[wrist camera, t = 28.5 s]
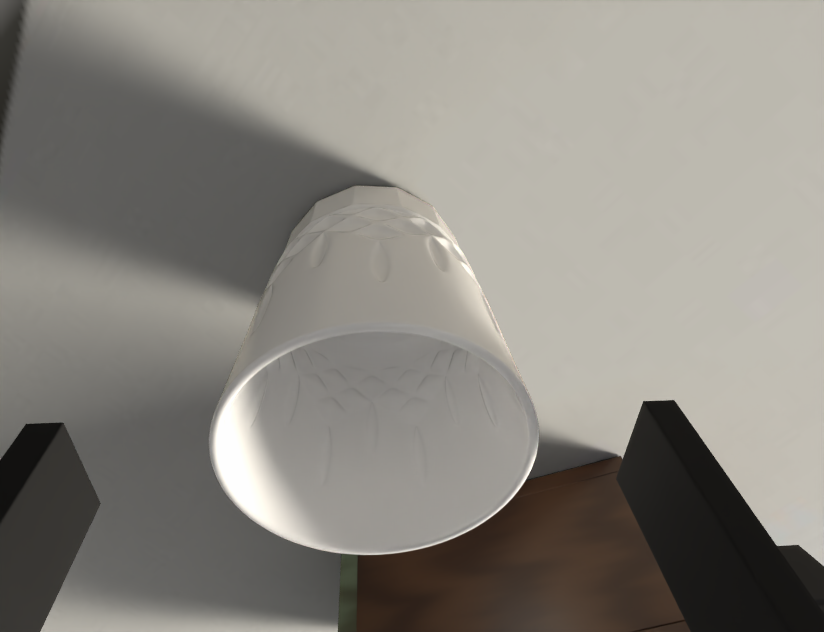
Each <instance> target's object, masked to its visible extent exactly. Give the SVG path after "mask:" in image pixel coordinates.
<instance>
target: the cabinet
mask: <svg viewBox="0 0 824 632" xmlns="http://www.w3.org/2000/svg"><path fill="white" fill-rule="evenodd" d="M621 463H622V458H621V456H619V457H615V458H611V459H607V460H603V461H600V462H596V463H592V464H588V465H584V466H580V467H577V468H573V469H569V470H565V471H561V472H557V473H554V474H550V475H546V476H542V477H538V478H534V479H531V480H527V481H525V482H524V483H523V485H522V486H521V488H520V489H519V491H518V492H517V493H516V494H515V496H514V497H513V498H512V499H511V500H510V501H509V502H508V503H507V504H506V505H505V506H504V507H503V508H502V509H501V510H500V511H498V512H497V513H496V514H495V515H493V516H492V517H491V518H489V519H488V520H487V521H485V522H484V523H482V524H480V525H479V526H477V527H475V528H474V529H472V530H470V531H468V532H466V533H464V534H462V535H460V536H458V537H455V538H453V539H450V540H448V541H445V542H442V543H439V544H436V545H433V546H430V547H426V548H422V549H418V550H413V551H408V552H401V553H394V554H382V555H358V561H357V621H356V632H690V629H689V627H688V625H687V623H686V621H685V619H684V617H683V615H682V613H681V611H680V609H679V607H678V605H677V603H676V601H675V599H674V597H673V595H672V593H671V590H670V588H669V586H668V584H667V582H666V580H665V578H664V576H663V574H662V572H661V570H660V568H659V566H658V564H657V562H656V560H655V558H654V556H653V554H652V552H651V549H650V547H649V545H648V543H647V541H646V539H645V537H644V535H643V533H642V531H641V529H640V527H639V525H638V523H637V521H636V519H635V517H634V515H633V513H632V511H631V508H630V506H629V504H628V502H627V500H626V498H625V496H624V494H623V492H622V490H621V488H620V486H619V484H618V482H617V480H616V477H617V474H618V471H619V468H620V466H621Z"/></svg>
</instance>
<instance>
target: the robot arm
mask: <svg viewBox="0 0 824 632" xmlns="http://www.w3.org/2000/svg"><path fill="white" fill-rule="evenodd" d="M616 480H617V482H618V484H619V486H620V488H621V490H622V492H623V494H624V496H625V498H626V500H627V502H628V504H629V506H630V508H631V511H632V513H633V515H634V517H635V519H636V521H637V523H638V525H639V527H640V529H641V531H642V533H643V535H644V537H645V539H646V541H647V543H648V545H649V547H650V549H651V552H652V554H653V556H654V558H655V560H656V562H657V564H658V566H659V568H660V570H661V572H662V574H663V576H664V578H665V580H666V582H667V584H668V586H669V588H670V590H671V593H672V595H673V597H674V599H675V601H676V603H677V605H678V607H679V609H680V611H681V613H682V615H683V617H684V619H685V621H686V623H687V625H688V627H689V629H690V632H824V566H823V565H821V564H820V563H819V562H818V561H817V560H815V559H814V558H813V557H812V556H811V555H810V554H808V553H807V552H806V551H805V550H804V549H802V548H801V547H800V546H799V545H791V546H776V544H775V543H774V541H773V540H772V539H771V537H770V536H769V534H768V533H767V531H766V530H765V529H764V527H763V526H762V524H761V523H760V521H759V520H758V519H757V517H756V516H755V514H754V513H753V512H752V510H751V509H750V507H749V506H748V504H747V503H746V502H745V500H744V499H743V497H742V496H741V494H740V493H739V492H738V490H737V489H736V487H735V486H734V484H733V483H732V482H731V480H730V479H729V477H728V476H727V475H726V473H725V472H724V470H723V469H722V467H721V466H720V465H719V463H718V462H717V460H716V459H715V457H714V456H713V455H712V453H711V452H710V450H709V449H708V448H707V446H706V445H705V443H704V442H703V440H702V439H701V438H700V436H699V435H698V433H697V432H696V430H695V429H694V428H693V426H692V425H691V423H690V422H689V421H688V419H687V418H686V416H685V415H684V413H683V412H682V411H681V409H680V408H679V406H678V405H677V403H676V402H675V401H674V400H668V401H643V404H642V407H641V410H640V412H639V415H638V418H637V421H636V424H635V426H634V429H633V432H632V435H631V438H630V440H629V443H628V446H627V449H626V452H625V454H624V457H623V460H622V463H621V466H620V468H619V471H618V474H617V477H616ZM100 504H101V503H100V501H99V499H98V497H97V495H96V493H95V490H94V488H93V486H92V484H91V482H90V480H89V477H88V475H87V473H86V471H85V469H84V466H83V464H82V462H81V460H80V458H79V456H78V453H77V451H76V449H75V447H74V445H73V443H72V440H71V438H70V436H69V434H68V432H67V430H66V427H65V425H64V423H40V424H26V425H25V426H24V428H23V429H22V431H21V432H20V433H19V435H18V436H17V438H16V439H15V440H14V442H13V443H12V445H11V446H10V448H9V449H8V450H7V452H6V453H5V455H4V456H3V457H2V459H1V460H0V632H40V631H41V629H42V627H43V625H44V622H45V620H46V618H47V616H48V614H49V612H50V610H51V608H52V605H53V603H54V601H55V599H56V597H57V595H58V593H59V591H60V588H61V586H62V584H63V582H64V580H65V578H66V576H67V574H68V571H69V569H70V567H71V565H72V563H73V561H74V559H75V557H76V554H77V552H78V550H79V548H80V546H81V544H82V542H83V540H84V538H85V535H86V533H87V531H88V529H89V527H90V525H91V523H92V521H93V518H94V516H95V514H96V512H97V510H98V508H99V506H100Z"/></svg>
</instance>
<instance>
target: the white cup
mask: <svg viewBox="0 0 824 632" xmlns="http://www.w3.org/2000/svg"><path fill="white" fill-rule="evenodd" d="M538 442H539V425H538V418H537V414H536V410H535V407H534V404H533V401H532V399H531V397H530V395H529V392H528V390H527V388H526V386H525V384H524V381H523V379H522V377H521V375H520V373H519V370H518V368H517V366H516V364H515V362H514V359H513V357H512V355H511V353H510V350H509V348H508V346H507V344H506V341H505V339H504V337H503V335H502V332H501V330H500V328H499V326H498V323H497V321H496V319H495V317H494V314H493V312H492V310H491V307H490V305H489V303H488V301H487V299H486V297H485V295H484V293H483V291H482V289H481V287H480V285H479V283H478V281H477V280H476V277H475V275H474V273H473V271H472V269H471V267H470V265H469V263H468V261H467V259H466V257H465V256H464V254H463V252H462V251H461V249H460V248H459V246H458V243H457V241H456V238H455V236H454V235H453V233H452V232H451V231H450V229H449V228H448V227H447V225H446V224H445V222H444V221H443V220H442V218H441V217H440V215H439V214H438V213H437V211H436V210H435V208H434V207H433V206H432V205H430V204H428V203H426V202H424V201H422V200H420V199H419V198H417V197H415V196H413V195H411V194H409V193H407V192H405V191H403V190H401V189H399V188H397V187H380V186H353V187H350V188H348V189H345V190H343V191H341V192H338V193H336V194H334V195H331V196H329V197H326V198H324V199H322V200H319V201H317V202H316V203H315V205H314V206H313V207H312V208H311V209H310V211H309V212H308V213H307V214H306V215H305V216H304V218H303V219H302V220H301V221H300V222H299V224H298V225H297V226H296V227H295V228H294V229H293V231H292V233H291V235H290V238H289V241H288V243H287V246H286V249H285V251H284V252H283V254H282V256H281V257H280V259H279V261H278V263H277V265H276V266H275V268H274V270H273V272H272V275H271V277H270V280H269V282H268V285H267V287H266V289H265V291H264V293H263V295H262V297H261V299H260V301H259V304H258V306H257V309H256V311H255V314H254V316H253V319H252V321H251V324H250V326H249V329H248V331H247V334H246V336H245V338H244V341H243V343H242V346H241V348H240V351H239V353H238V356H237V358H236V361H235V363H234V366H233V368H232V370H231V373H230V375H229V378H228V380H227V383H226V385H225V387H224V390H223V392H222V395H221V397H220V399H219V402H218V404H217V407H216V409H215V412H214V414H213V418H212V421H211V426H210V431H209V453H210V459H211V464H212V467H213V470H214V473H215V475H216V478H217V480H218V482H219V484H220V485H221V487H222V489H223V490H224V492H225V493H226V495H227V496H228V497H229V499H230V500H231V501H232V502H233V503H234V504H235V506H236V507H237V508H238V509H239V510H240V511H241V512H243V513H244V514H245V515H246V516H247V517H248V518H250V519H251V520H252V521H254V522H255V523H257V524H258V525H260V526H261V527H263V528H264V529H266V530H268V531H270V532H272V533H273V534H275V535H277V536H280V537H282V538H284V539H286V540H289V541H292V542H294V543H297V544H300V545H303V546H306V547H310V548H314V549H318V550H323V551H328V552H334V553H342V554H353V555H382V554H394V553H401V552H408V551H413V550H418V549H422V548H426V547H430V546H433V545H436V544H439V543H442V542H445V541H448V540H450V539H453V538H455V537H458V536H460V535H462V534H464V533H466V532H468V531H470V530H472V529H474V528H475V527H477V526H479V525H480V524H482V523H484V522H485V521H487V520H488V519H489V518H491V517H492V516H493V515H495V514H496V513H497V512H498V511H500V510H501V509H502V508H503V507H504V506H505V505H506V504H507V503H508V502H509V501H510V500H511V499H512V498H513V497H514V496H515V494H516V493H517V492H518V491H519V489H520V488H521V486H522V485H523V483H524V482H525V480H526V479H527V477H528V475H529V473H530V471H531V469H532V466H533V464H534V461H535V458H536V454H537V449H538Z"/></svg>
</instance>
